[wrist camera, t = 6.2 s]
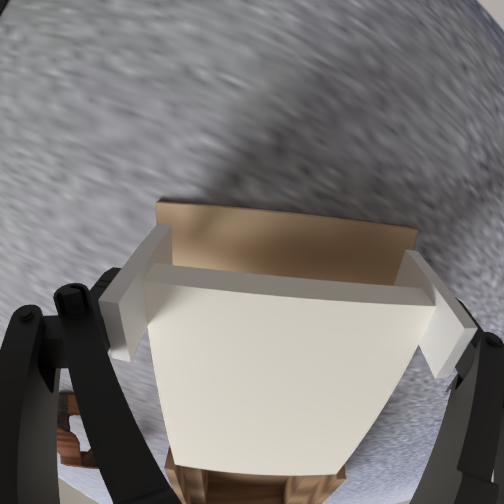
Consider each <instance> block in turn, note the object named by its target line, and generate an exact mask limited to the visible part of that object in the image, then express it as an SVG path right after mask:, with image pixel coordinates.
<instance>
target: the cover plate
mask: <svg viewBox="0 0 504 504" xmlns="http://www.w3.org/2000/svg"><path fill="white" fill-rule="evenodd" d="M143 284H144V294H145V303H146V312H147V320H148V332H149V339H150V346H151V353H152V359H153V365H154V371H155V377H156V382H157V388H158V393H159V398H160V403H161V408H162V412H163V417H164V422H165V426H166V430H167V435H168V439H169V443H170V447H171V451H172V455H173V459H174V463H175V465H181V466H186V467H192V468H199V469H206V470H213V471H222V472H231V473H242V474H257V475H284V476H303V475H331V474H337V473H338V471H339V470H340V469H341V467H342V466H343V465H344V464H345V462H346V461H347V460H348V458H349V457H350V456H351V454H352V453H353V452H354V450H355V449H356V448H357V446H358V445H359V443H360V442H361V441H362V439H363V438H364V436H365V435H366V433H367V432H368V430H369V429H370V427H371V426H372V424H373V423H374V421H375V420H376V418H377V417H378V415H379V414H380V412H381V411H382V409H383V407H384V406H385V404H386V403H387V401H388V399H389V398H390V396H391V394H392V393H393V391H394V389H395V387H396V386H397V384H398V382H399V380H400V379H401V377H402V375H403V373H404V371H405V370H406V368H407V366H408V364H409V362H410V360H411V358H412V356H413V354H414V352H415V351H416V349H417V347H418V345H419V342H420V340H421V338H422V335H423V333H424V331H425V329H426V327H427V325H428V322H429V320H430V318H431V316H432V313H433V311H434V309H435V305H434V303H433V302H432V301H431V299H430V298H429V297H428V295H427V294H426V292H425V291H424V290H423V288H414V287H400V286H387V285H374V284H362V283H350V282H338V281H327V280H315V279H304V278H294V277H283V276H273V275H262V274H252V273H242V272H233V271H223V270H214V269H204V268H195V267H186V266H177V265H168V264H160V263H155V264H154V265H153V267H152V268H151V270H150V271H149V273H148V274H147V276H146V277H145V279H144V280H143Z"/></svg>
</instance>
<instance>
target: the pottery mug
mask: <svg viewBox="0 0 504 504" xmlns="http://www.w3.org/2000/svg"><path fill="white" fill-rule="evenodd" d="M72 415H80V412H79V409H78V405H77V402H76V398H75V395H74V394H73V395H70V394H69V395H67V394H58V411H57V452H58V453H59V454H60V458H61V464H64V465H66V466H73V467H84V468H92V469H99V468H98V465H97V463H96V460H95V457H94V455H93V452H92V449H91V448H90V450H89V451H88V452H86V451H81V452H80V443H79V441H78V438H77V437H76V435H75V434H74V433H72V432H70V425H69V417H70V416H72Z"/></svg>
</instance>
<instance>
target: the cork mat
mask: <svg viewBox="0 0 504 504" xmlns="http://www.w3.org/2000/svg"><path fill="white" fill-rule="evenodd" d="M156 218H157V224H162V225H172V257H173V265H177V266H186V267H195V268H204V269H214V270H223V271H233V272H242V273H252V274H262V275H273V276H283V277H294V278H304V279H315V280H327V281H338V282H350V283H362V284H374V285H387V286H394V283H395V280H396V277H397V274H398V271H399V268H400V265H401V262H402V259H403V256H404V252H405V250H413V248H414V244H415V241H416V238H417V234H418V230H417V229H416V228H409V227H403V226H396V225H389V224H382V223H375V222H367V221H360V220H352V219H344V218H336V217H328V216H319V215H311V214H302V213H293V212H283V211H273V210H263V209H253V208H242V207H231V206H219V205H207V204H194V203H180V202H165V201H157V202H156Z"/></svg>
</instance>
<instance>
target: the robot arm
mask: <svg viewBox="0 0 504 504" xmlns="http://www.w3.org/2000/svg"><path fill="white" fill-rule="evenodd" d="M5 2H6V0H0V12H1V10H2V8H3V6H4V4H5ZM155 263H160V264H168V265H173V257H172V225H162V224H157V225H156V226H155V227H154V229H153V230H152V231H151V232H150V234H149V235H148V236H147V237H146V238H145V240H144V241H143V242H142V243H141V245H140V246H139V247H138V248H137V250H136V251H135V252H134V253H133V255H132V256H131V257H130V259H129V260H128V261H127V262H126V264H125V265H124V266H123V268H114V267H113V268H111V269H110V270H108V271H106V272H105V273H104V274H103V275H102V276H101V277H100V278H99V281H97V282H96V283H95V285H94V286H93V287H92V288H91V290H90V291H89V289H88V288H87V286H85V285H83V284H80V283H71V284H67V285H64V286H62V287H60V288H59V289H57V291H56V292H55V293H54V297H53V299H54V302H55V305H56V309H57V312H58V315H54V316H43V314H42V311H41V309H40V307H38V306H36V305H25V306H22V307H20V308H18V309H17V310H16V311H15V312H14V313H13V315H12V317H11V319H10V322H9V325H8V328H7V331H6V334H5V337H4V340H3V343H2V346H1V349H0V504H60V499H59V487H58V471H57V411H58V394H59V381H60V371H61V368H68V369H69V374H70V378H71V382H72V386H73V390H74V394H75V398H76V402H77V405H78V409H79V412H80V416H81V419H82V422H83V425H84V429H85V432H86V435H87V438H88V441H89V444H90V446H91V449H92V452H93V455H94V457H95V460H96V463H97V465H98V468H99V470H100V473H101V475H102V478H103V480H104V482H105V485H106V487H107V489H108V492H109V494H110V496H111V498H112V501H113V504H182V502H181V501H180V499H179V498H178V496H177V495H176V493H175V492H174V490H173V489H172V487H171V486H170V485H169V483H168V482H167V480H166V478H165V477H164V475H163V473H162V472H161V470H160V468H159V466H158V464H157V463H156V461H155V459H154V457H153V455H152V453H151V451H150V449H149V448H148V446H147V444H146V442H145V440H144V438H143V436H142V434H141V432H140V430H139V427H138V425H137V423H136V421H135V419H134V417H133V415H132V412H131V410H130V408H129V406H128V404H127V401H126V399H125V397H124V394H123V392H122V389H121V387H120V385H119V382H118V380H117V377H116V375H115V372H114V369H113V367H112V364H111V361H110V359H109V356H108V353H107V352H108V350H109V348H110V350H111V353H112V357H113V358H114V359H119V360H124V361H128V362H131V361H132V359H133V356H134V354H135V352H136V350H137V347H138V345H139V343H140V341H141V339H142V336H143V334H144V332H145V330H146V328H147V326H148V320H147V312H146V303H145V294H144V284H143V280H144V279H145V277H146V276H147V274H148V273H149V271H150V270H151V268H152V267H153V265H154V264H155ZM394 286H400V287H414V288H423V290H424V291H425V292H426V294H427V295H428V297H429V298H430V299H431V301H432V302H433V303H434V305H435V309H434V311H433V313H432V316H431V318H430V320H429V322H428V325H427V327H426V329H425V331H424V333H423V335H422V338H421V340H420V342H419V346H420V348H421V350H422V352H423V354H424V356H425V359H426V361H427V363H428V365H429V367H430V369H431V371H432V373H433V375H434V378H435V379H438V378H447V377H449V375H450V374H451V372H452V371H453V369H454V368H456V370H457V372H458V374H457V375H456V377H455V378H454V380H453V381H452V383H451V384H450V385H449V387H448V388H447V390H446V392H448V391H449V390H450V389H451V393H450V397H449V400H448V404H447V408H446V411H445V414H444V418H443V421H442V424H441V427H440V430H439V433H438V436H437V439H436V442H435V445H434V448H433V450H432V453H431V456H430V458H429V461H428V463H427V466H426V468H425V471H424V473H423V475H422V478H421V480H420V482H419V485H418V487H417V489H416V491H415V493H414V496H413V498H412V500H411V502H410V503H409V504H504V343H503V342H502V340H501V339H500V338H499V337H498V336H497V335H495V334H493V333H490V332H484V331H483V330H482V329H481V327H480V326H479V324H478V323H477V322H476V320H475V319H474V317H472V315H471V313H470V312H469V311H468V309H467V308H466V307H465V305H464V304H463V303H462V302H461V301H459V300H458V299H457V298H456V297H454V295H453V294H452V293H451V291H450V290H449V289H448V288H447V286H446V285H445V284H444V283H443V281H442V280H441V279H440V278H439V276H438V275H437V274H436V273H435V272H434V270H433V269H432V268H431V267H430V266H429V264H428V263H427V262H426V261H425V260H424V259H423V257H422V256H421V255H420V254H419V253H418V252H417V251H413V250H405V252H404V256H403V259H402V262H401V265H400V268H399V271H398V274H397V277H396V280H395V283H394ZM493 469H494V482H491V479H492V473H493Z"/></svg>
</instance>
